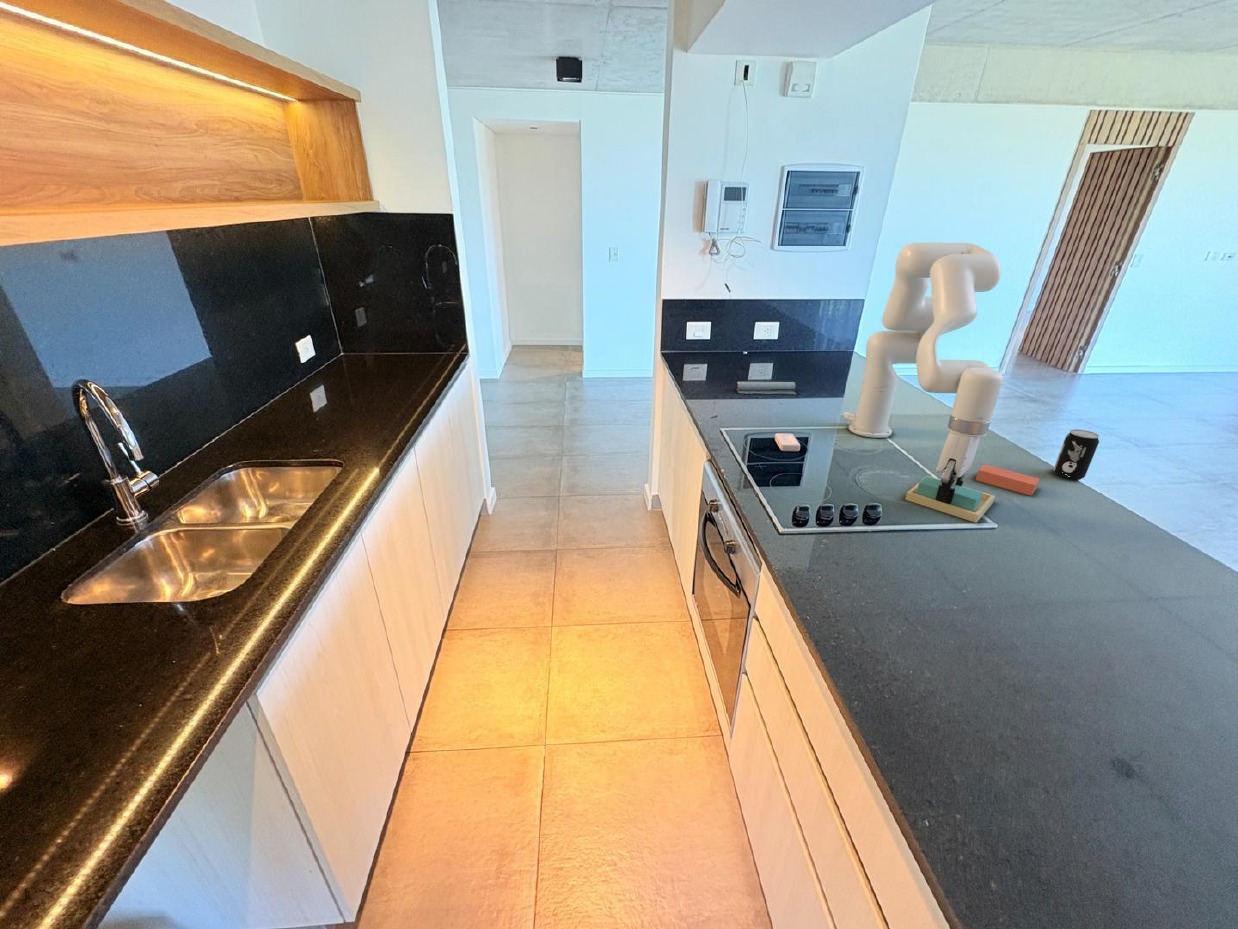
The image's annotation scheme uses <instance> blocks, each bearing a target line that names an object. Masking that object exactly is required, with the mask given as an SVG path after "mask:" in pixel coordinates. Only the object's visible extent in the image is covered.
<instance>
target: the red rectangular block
mask: <svg viewBox="0 0 1238 929" xmlns="http://www.w3.org/2000/svg"><path fill="white" fill-rule="evenodd" d="M975 477H976V478H975V481H977V482H979V483H980V482H981V483H985V484H988V485H991V486H993V487H994V486H995V487H998V488H1002V489H1006V490H1009V491H1013V492H1016V493H1020V494H1023V495H1025V496H1029V497H1030V496H1031V497H1032V496H1033V495H1034V493H1035V491H1036V490H1037V487H1038V485H1039V482H1040V478H1038V477H1036V476H1035V477H1034V476H1030V475H1027V474H1023V473H1020V472H1015V471H1011V470H1007V469H1004V468H1000V467H995V466H992V465H988V464H983V465H982V466H981V467H980V468H979V469H978V471H977V474H976V476H975Z"/></svg>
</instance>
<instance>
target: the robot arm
mask: <svg viewBox="0 0 1238 929" xmlns="http://www.w3.org/2000/svg"><path fill="white" fill-rule="evenodd" d="M1001 266H1002V264H1001V263H1000V260H999V259H998V257H997V256H996V255H995V254H994V253H992V252H991V251H989V250H987V249H985V248H984V247H981V246H980V245H977V244H976V243H972V242H941V241H940V242H939V241H937V242H936V241H934V242H933V241H932V242H931V241H930V242H929V241H928V242H926V241H925V242H912V243H908V244H906V245H904V246H903V247H902V248H901V249H900V251H899V252H898V254H897V257H896V260H895V270H894V271H895V272H894V273H895V275H894V280H893V281H894V282H893V284H892V287H891V290H890V293H889V296H888V298H887V301H886V303H885V307H884V310H883V313H882V317H881V318H882V319H881V323H882V326H883V327H884V328H885V329H887V330H880V331H876V332H874V333H872V334H871V335H870V336H869V337H868V339H867V341H866V344H865V345H866V347H865V351H866V352H865V366H864V367H865V368H864V374H863V380H862V383H861V384H862V385H861V388H860V394H859V400H858V406H857V410H856V413H852V412H847V411H845V412H844V413H843V420H844V421H849V422H850V423H849V424H848V430H849V431H850V432H851V433H853V434H855V435H858V436H861V437H866V438H871V439H872V438H873V439H884V438H887V437H888V438H889V437H891V435H892V433H893V429H892V428H891V427H889V422H890V417H891V412H892V409H893V408H892V407H893V403H894V401H895V400H894V399H895V395H896V390H897V386H898V380H899V379H898V378H899V377H898V374H897V372H896V371H895V369H894V367H893V365H896V364H897V365H898V364H901V365H903V364H904V365H905V364H906V365H907V364H909V365H910V364H911V365H912V364H913V365H914V364H916V374H917V381H918V384H919V386H920V388H921V390H923V392H927V393H931V394H955V397H954V401H953V403H952V404H953V405H952V408H951V412H950V416H949V420H948V423H947V426H946V429H947V430H948V431H949V433H948V435H947V437H946V440H945V442H944V444H943V448H942V450H941V454H940V457H939V459H938V463H937V466H936V468H935V470H936V471H935V472H936V473H938V474H939V473H943V474H942V476H941V479H940V480H941V482H940V485H939V488H938V491H937V495H936V498H935V499H936V500H937V501H940V502H943V503H946V504H951V502H952V499H953V495H954V492H955V488H954V486H955V485H958V486H963V484H964V479H965V476H966V472H967V471H968V470H970V468H971V467H972V464H973V462H974V460H975V457H976V453H977V451H978V447H979V443H980V439H981V438H984V437H986V436H987V434H988V431H989V428H990V424H991V422H992V418H993V415H994V412H995V408H996V405H997V401H998V398H999V395H1000V392H1001V389H1002V385H1003V382H1004V376H1003V373H1002V372H1000V371H999V370H996V369H992V368H991V367H990V366H989V365H988V364H987V363H986V362H984V361H981V360H977V359H975V360H974V359H939V358H938V350H937V346H938V341H939V338H940V337H941V336H943V335H945V334H948V333H951V332H953V331H957V330H959V329H961V328H964V327H966V326H968V325H970V324H971V323H972V322H974V321H975V320H976V318H977V315H978V310H977V302H976V293H987V292H989V291H991V290H993V289H994V288H995V287H997V285H998V283H999V282H1000V279H1001V276H1002V267H1001ZM929 281H930V294H931V295H930V296H928V295H926V293H927V291H928V288H929Z"/></svg>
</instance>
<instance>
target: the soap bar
mask: <svg viewBox="0 0 1238 929" xmlns="http://www.w3.org/2000/svg"><path fill="white" fill-rule="evenodd" d="M774 441H775V443H776V444H777V446H778V447H779V450H780V451H781V452H799V451H800V450H801V444H800V442H799V440H797V438H796V436H795V435H794V434H793V433H780V432H779V433H777V432H776V433H775V434H774Z"/></svg>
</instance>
